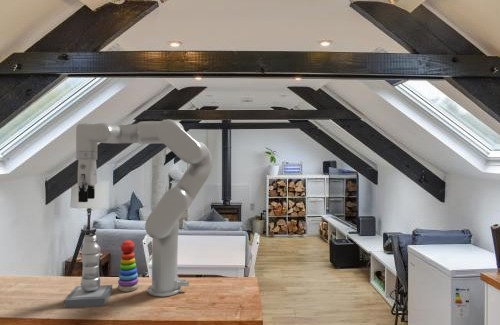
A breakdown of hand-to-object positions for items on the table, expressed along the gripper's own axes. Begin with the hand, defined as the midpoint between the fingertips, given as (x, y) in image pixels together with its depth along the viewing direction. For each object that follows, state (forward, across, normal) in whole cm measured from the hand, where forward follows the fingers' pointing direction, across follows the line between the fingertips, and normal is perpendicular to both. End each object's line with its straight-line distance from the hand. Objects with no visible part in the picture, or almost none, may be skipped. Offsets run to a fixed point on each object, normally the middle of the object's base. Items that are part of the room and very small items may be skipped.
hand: (86, 200), depth 144 cm
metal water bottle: (+32, -10, -4) cm, 34 cm away
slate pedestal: (+34, -11, -4) cm, 36 cm away
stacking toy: (+34, -2, -16) cm, 38 cm away
